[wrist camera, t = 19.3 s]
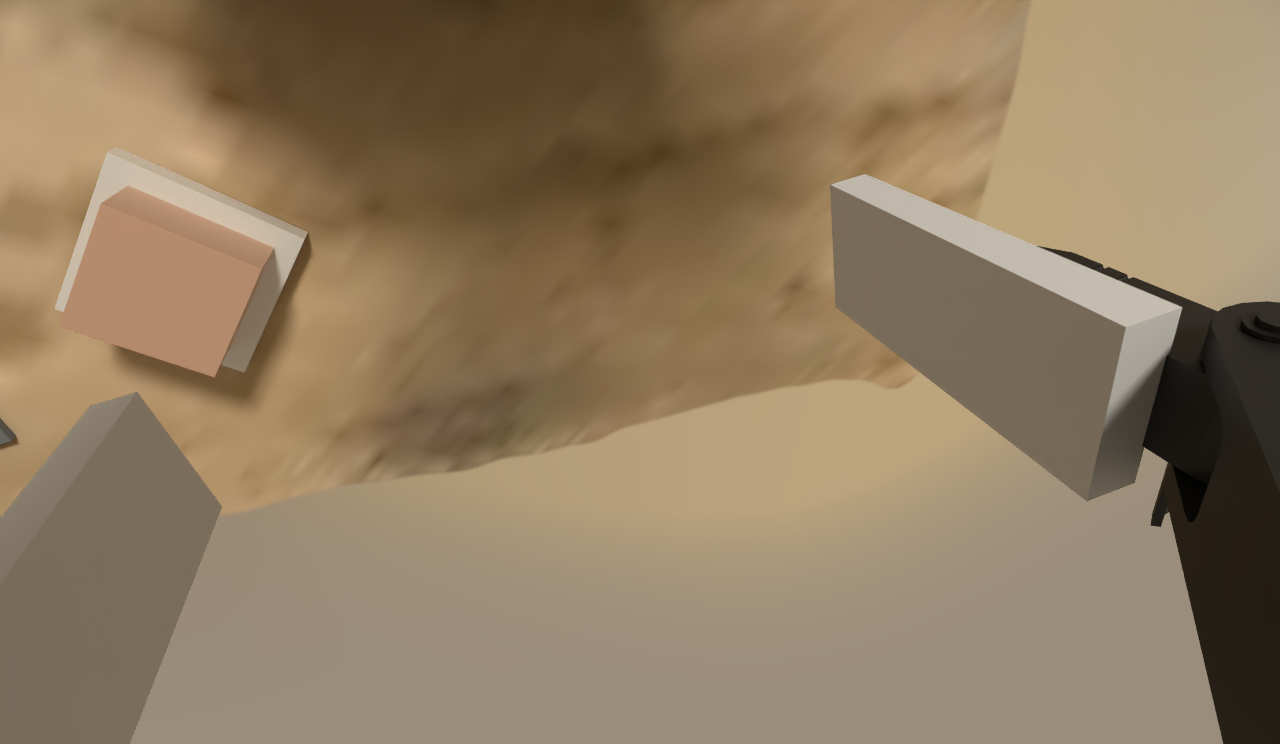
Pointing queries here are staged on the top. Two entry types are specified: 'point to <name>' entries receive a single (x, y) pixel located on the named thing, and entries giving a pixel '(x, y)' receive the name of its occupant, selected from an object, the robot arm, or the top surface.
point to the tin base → (175, 268)
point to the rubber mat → (5, 433)
